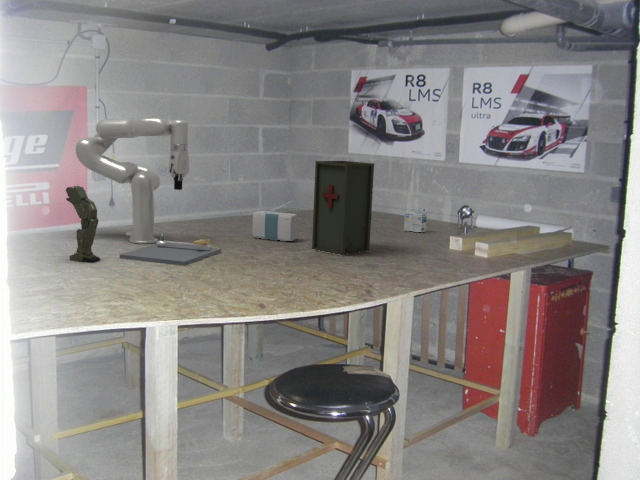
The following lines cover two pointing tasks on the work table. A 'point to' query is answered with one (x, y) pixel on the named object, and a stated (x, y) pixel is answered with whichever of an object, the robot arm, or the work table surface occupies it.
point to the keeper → (202, 241)
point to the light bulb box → (415, 221)
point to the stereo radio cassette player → (274, 225)
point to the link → (181, 244)
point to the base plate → (169, 254)
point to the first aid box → (342, 206)
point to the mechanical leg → (84, 224)
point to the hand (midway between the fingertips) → (178, 189)
